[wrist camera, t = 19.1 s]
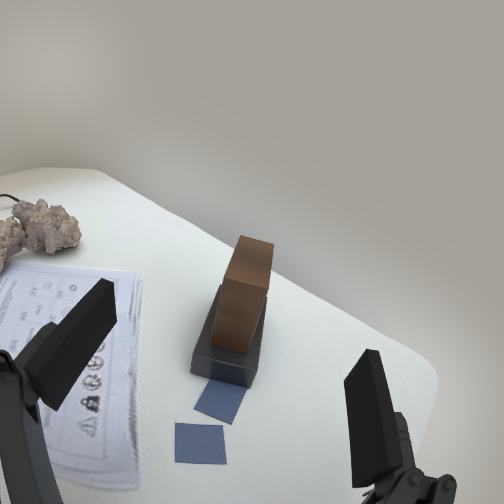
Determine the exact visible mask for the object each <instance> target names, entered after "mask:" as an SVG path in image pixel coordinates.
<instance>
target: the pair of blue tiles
mask: <svg viewBox="0 0 504 504" xmlns="http://www.w3.org/2000/svg"><path fill="white" fill-rule="evenodd" d="M246 390H247V388H246V387H242V386H237V385H233V384H229V383H225V382H221V381H218V380H214V379H210V381H209V382H208V384H207V386H206V388H205V389H204V391H203V393H202V395H201V397H200V398H199V400H198V402H197V404H196V405H195V407H194V409H195V410H198V411H200V412H202V413H204V414H207V415H209V416H211V417H214V418H216V419H219V420H221V421H224V422H226V423H229V424H232V422H233V420H234V417H235V415H236V413H237V411H238V408H239V406H240V404H241V401H242V399H243V397H244V394H245V392H246ZM175 462H181V463H199V464H227V462H226V453H225V444H224V434H223V426H222V425H198V424H184V423H175Z"/></svg>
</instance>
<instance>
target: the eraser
mask: <svg viewBox="0 0 504 504" xmlns="http://www.w3.org/2000/svg"><path fill="white" fill-rule="evenodd" d="M273 248H274V244H271V243H268V242H264V241H260V240H256V239H253V238H249V237H245V236H240V238H239V240H238V243H237V245H236V248H235V250H234V253H233V255H232V258H231V260H230V263H229V265H228V268H227V270H226V273H225V275H224V278H223V283H222V285H221V284H220V286H219V288H218V291H217V293H216V296H215V298H214V301H213V303H212V306H211V308H210V311H209V313H208V316H207V318H206V321H205V323H204V326H203V329H202V331H201V334H200V336H199V339H198V341H197V344H196V347H195V349H194V352H193V355H192V363H191V370H190V372H191V373H193V374H196V375H200V376H203V377H207V378H210V379H214V380H218V381H221V382H225V383H229V384H233V385H237V386H242V387H246V388H250V387H251V385H252V382H253V380H254V378H255V375H256V373H257V369H258V362H259V355H260V348H261V341H262V333H263V326H264V319H265V311H266V303H267V297H266V295H267V292H268V289H269V282H270V273H271V265H272V257H273Z"/></svg>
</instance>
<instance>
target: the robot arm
mask: <svg viewBox="0 0 504 504" xmlns="http://www.w3.org/2000/svg"><path fill="white" fill-rule="evenodd" d="M116 322H117V317H116V306H115V294H114V282H111V281H108V280H106V279H103V278H101V279H100V280H99V281H98V282H97V283H96V284H95V285H94V286H93V288H92V289H91V290H90V291H89V292H88V293H87V294H86V295H85V296H84V297H83V298H82V299H81V300H80V301H79V302H78V303H77V304H76V306H75V307H74V308H73V309H72V310H71V311H70V312H69V313H68V314H67V315H66V317H65V318H64V319H63V320H62V321H61V322H60V323H59V324H58V325H57V324H55V323H53V322H50V323H48V324H47V325H45V326H43V327H42V328H41V329H40V330H39V331H38V332H37V334H36V335H35V336H34V337H33V338H32V339H31V341H30V342H29V343H28V344H27V345H26V346H25V347H24V349H23V350H22V351H21V352H20V353H19V355H18V356H17V357H16V358H15V360H14V361H13V359H12V357H11V356H10V354H9V353H8V352H7V351H5V350H0V458H1V464H2V469H3V473H4V478H5V482H6V486H7V490H8V494H9V498H10V501H11V504H64V503H63V501H62V498H61V495H60V492H59V489H58V486H57V483H56V480H55V477H54V474H53V470H52V467H51V463H50V459H49V456H48V452H47V447H46V443H45V438H44V434H43V429H42V423H41V417H40V411H39V405H38V402H37V401H38V400H39V398H41V399H42V401H43V403H44V404H46V405H47V406H49V407H50V408H52V409H53V410H55V411H58V409H59V407H60V406H61V404H62V402H63V401H64V399H65V398H66V396H67V394H68V393H69V391H70V390H71V388H72V387H73V385H74V383H75V382H76V380H77V379H78V377H79V376H80V374H81V373H82V371H83V370H84V368H85V367H86V365H87V364H88V362H89V361H90V359H91V358H92V356H93V355H94V354H95V352H96V351H97V349H98V348H99V346H100V345H101V343H102V342H103V341H104V339H105V338H106V336H107V335H108V334H109V332H110V331H111V329H112V328H113V327H114V325H115V324H116ZM344 388H345V397H346V406H347V416H348V426H349V438H350V451H351V468H352V488H361V487H368V486H370V485H372V484H374V485H375V488H374V489H372V490H370V491H368V492H366V493H364V494H363V495H362V496H363V497H364V496H366V495H368V494H369V495H368V496H367V497H366V498H365V500H364V501H363V502H362V503H361V504H453V503H454V498H455V493H456V488H457V483H456V480H455V478H454V477H453V476H451V475H449V474H446V475H443V476H441V477H440V478H433V477H428V476H425V475H424V473H423V472H422V471H421V470H420V469H418V468H416V466H415V462H414V456H413V451H412V446H411V441H410V439H409V438H410V436H409V432H408V426H407V422H406V420H405V418H404V416H403V415H402V413H401V412H394V410H393V405H392V401H391V397H390V392H389V388H388V384H387V380H386V376H385V372H384V368H383V365H382V361H381V357H380V354H379V351H376V350H370V349H366V350H365V352H364V353H363V355H362V356H361V358H360V359H359V360H358V362H357V363H356V365H355V366H354V368H353V369H352V370H351V372H350V373H349V374H348V376H347V377H346V379H345V380H344ZM0 504H1V500H0Z"/></svg>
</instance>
